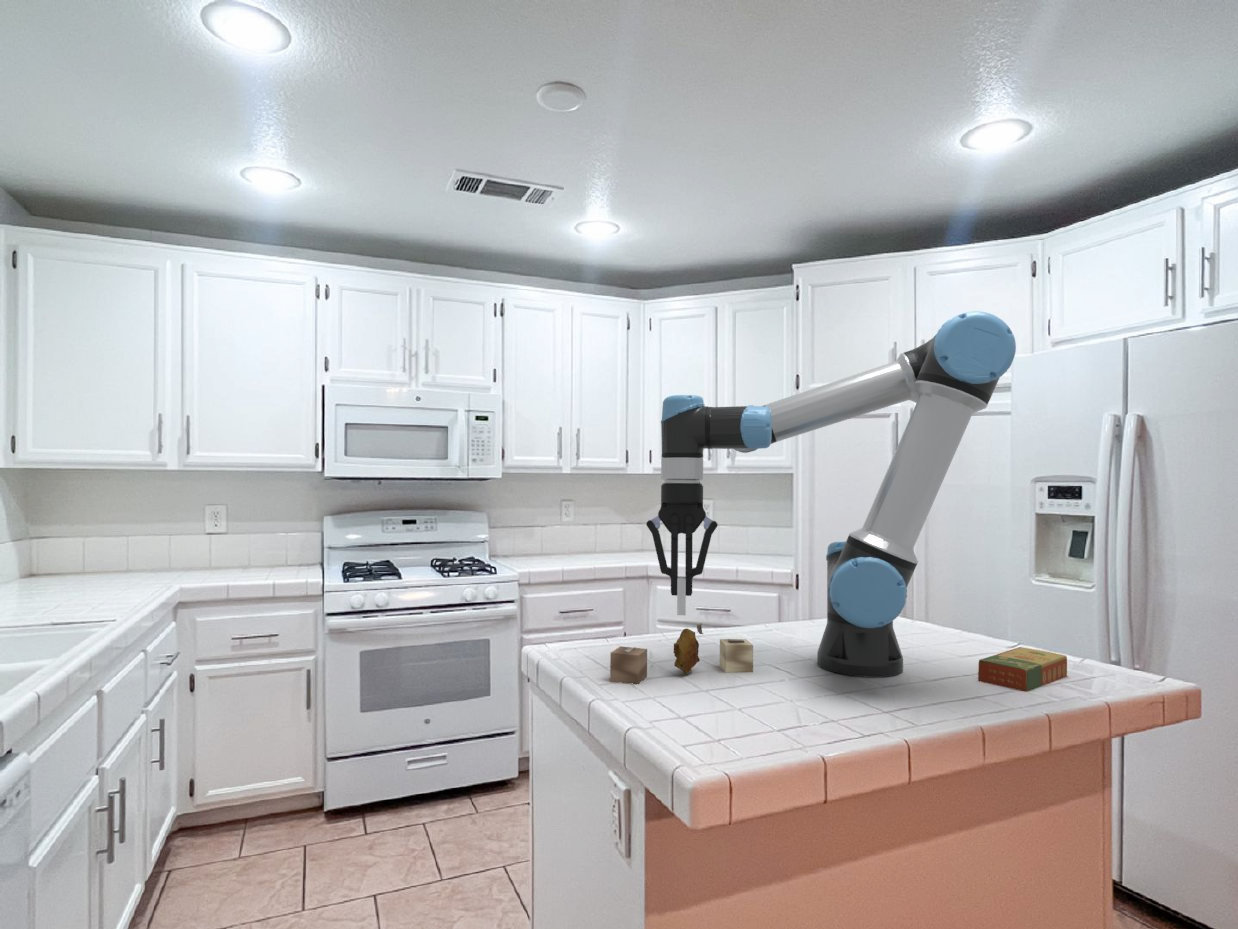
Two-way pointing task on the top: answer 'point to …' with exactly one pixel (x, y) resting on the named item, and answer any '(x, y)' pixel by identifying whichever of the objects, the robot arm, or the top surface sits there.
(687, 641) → the rock
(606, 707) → the top surface
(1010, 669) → the carton
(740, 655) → the block maple
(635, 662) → the block walnut
